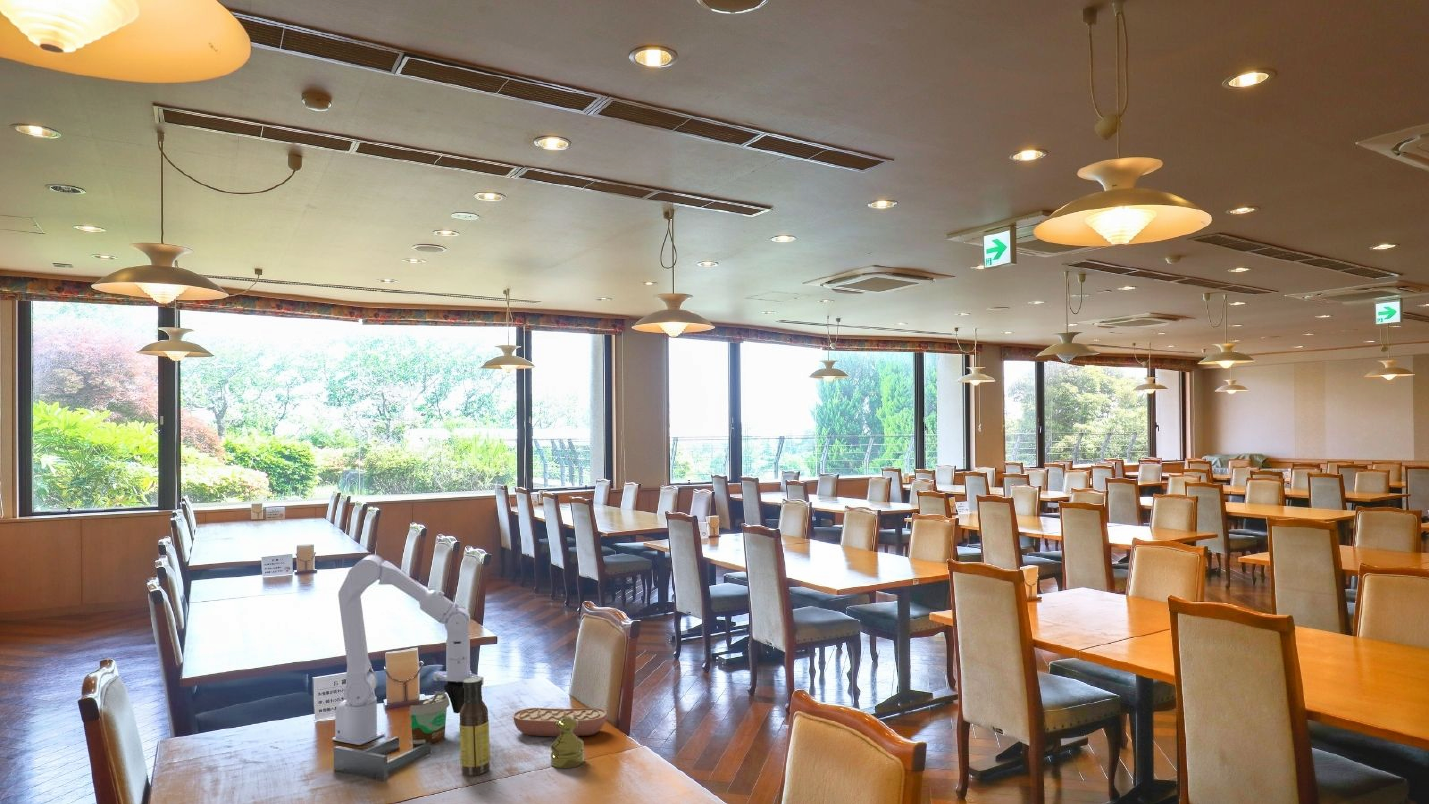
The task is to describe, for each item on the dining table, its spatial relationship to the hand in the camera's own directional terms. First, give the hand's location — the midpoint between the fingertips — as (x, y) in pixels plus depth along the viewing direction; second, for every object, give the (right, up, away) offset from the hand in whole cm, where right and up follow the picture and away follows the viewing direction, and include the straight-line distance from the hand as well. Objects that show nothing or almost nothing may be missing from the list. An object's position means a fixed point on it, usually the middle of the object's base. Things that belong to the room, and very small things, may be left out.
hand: (458, 712), depth 213 cm
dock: (-10, -4, -21) cm, 23 cm away
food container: (-3, -4, -8) cm, 9 cm away
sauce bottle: (+12, -3, -27) cm, 30 cm away
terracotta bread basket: (+26, -4, -4) cm, 27 cm away
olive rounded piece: (+31, -3, -23) cm, 39 cm away
